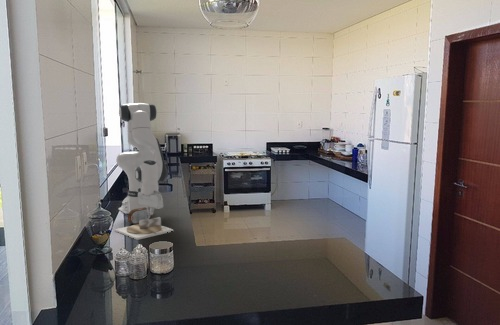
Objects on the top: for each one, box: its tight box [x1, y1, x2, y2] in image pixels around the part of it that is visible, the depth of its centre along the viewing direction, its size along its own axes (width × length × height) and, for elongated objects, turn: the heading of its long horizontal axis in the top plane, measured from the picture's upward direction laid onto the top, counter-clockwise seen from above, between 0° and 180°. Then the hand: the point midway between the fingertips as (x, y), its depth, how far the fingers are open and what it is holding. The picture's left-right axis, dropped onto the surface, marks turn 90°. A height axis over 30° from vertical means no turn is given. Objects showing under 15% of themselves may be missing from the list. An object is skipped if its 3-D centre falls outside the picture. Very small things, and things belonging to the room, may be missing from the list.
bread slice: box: [127, 207, 152, 225], centre depth 226 cm, size 15×3×8 cm, turn 141°
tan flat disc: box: [127, 216, 162, 234], centre depth 209 cm, size 19×18×5 cm
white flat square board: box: [114, 224, 174, 241], centre depth 209 cm, size 22×22×1 cm
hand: (150, 214), depth 218 cm, fingers closed
